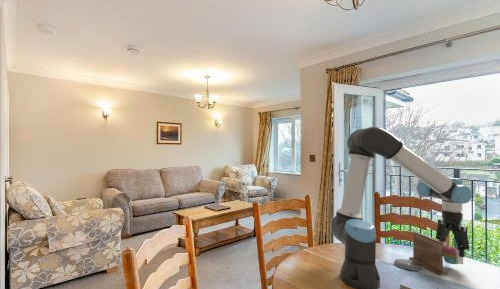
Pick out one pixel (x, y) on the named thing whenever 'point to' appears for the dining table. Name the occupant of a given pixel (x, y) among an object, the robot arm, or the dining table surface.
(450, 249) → the cupcake
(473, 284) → the dining table surface
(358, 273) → the robot arm
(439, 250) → the screen
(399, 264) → the plate
